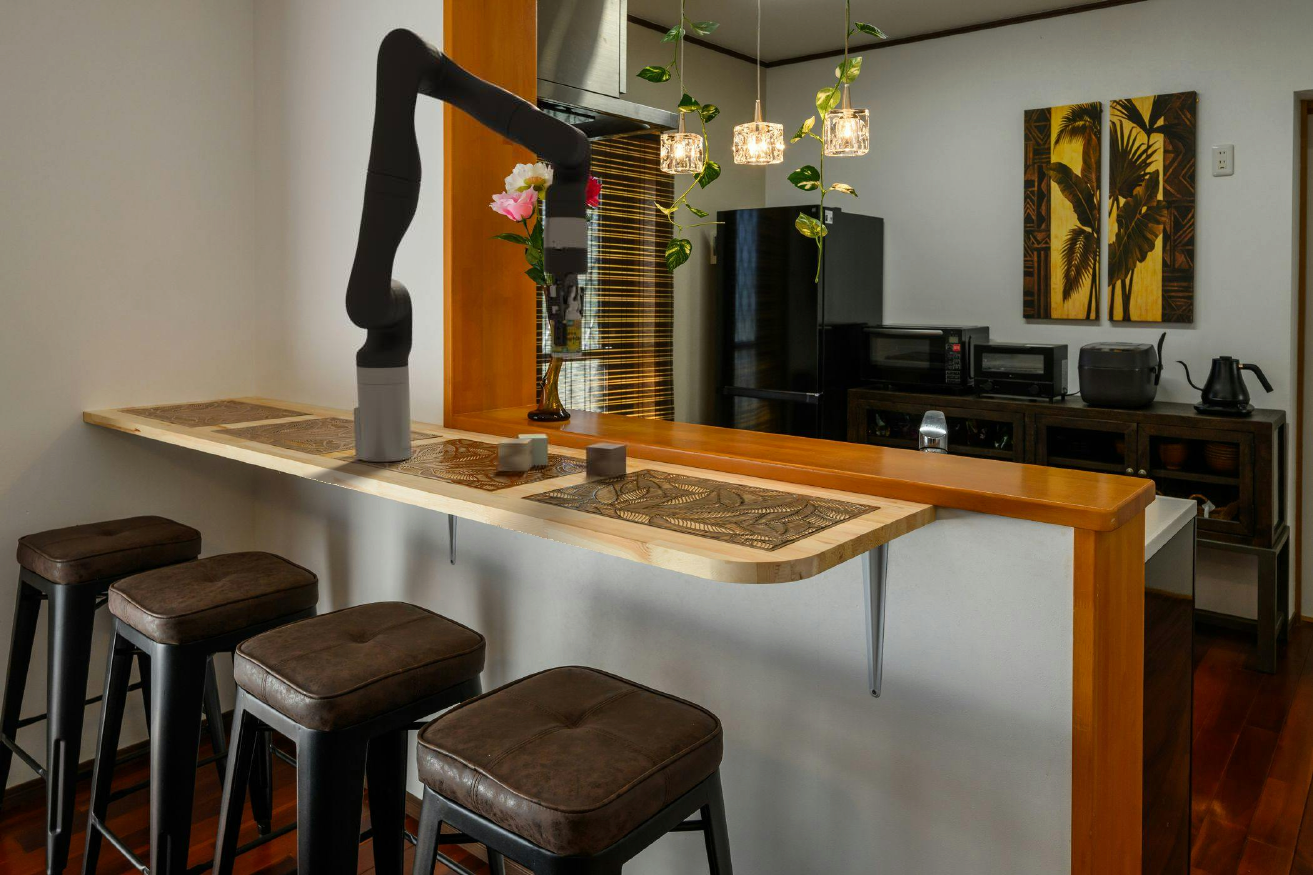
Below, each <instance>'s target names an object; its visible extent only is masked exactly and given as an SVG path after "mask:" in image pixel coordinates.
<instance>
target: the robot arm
mask: <svg viewBox="0 0 1313 875" xmlns="http://www.w3.org/2000/svg"><path fill="white" fill-rule="evenodd" d="M375 82H376V83H375V108H374V119H373V126H372V132H371V133H372V134H371V143H370V145H371V146H370V153H369V159H368V164H367V169H366V170H367V171H366V179H365V186H364V193H363V204H362V211H361V218H360V224H359V231H358V238H357V244H356V250H355V255H354V259H353V261H352V262H353V263H352V266H351V271H350V275H349V279H348V283H347V287H346V293H345V299H344V300H345V301H344V302H345V303H344V304H345V310H346V314H347V316H348V318H349V319H350V322H352V323H353V325H355V327H358V328H360V329H363V330H366V338H365V341H364V344H362V346H361V347H360V348H359V349H358V350H357V351H356V354H355V366H356V384H357V385H356V386H357V387H356V388H357V406H356V407H354V408H353V428H354V430H353V431H354V448H355V449H354V452H355V453H354V454H355V460H362V461H365V462H376V463H378V462H379V463H381V462H396V461H397V462H398V461H403V460H409V459H411V458H412V457H413V456H412V432H411V430H412V429H411V427H412V426H411V425H412V424H411V400H410V399H411V398H410V396H411V395H410V375H409V374H410V371H409V358H410V357H409V356H410V354H411V351H412V348H413V303H412V299H411V298H412V297H411V294H410V292H409V291H408V288H407V287H406V286H405V285H404V284H403V283H402V282H400V281H399V280H398V279H393V278H392V275H393V269H394V262H395V257H396V254H397V251H398V249H399V246H400V244H401V242H402V240H403V238H404V236H405V235H406V233H407V231H408V229H409V228H410V226H411V224H412V221H413V219H414V218H415V215H416V212H417V209H418V203H419V199H420V193H421V192H420V191H421V185H422V184H421V183H422V174H423V171H422V161H421V155H420V154H421V153H420V149H419V148H420V147H419V145H418V140H417V139H418V138H417V135H416V134H417V133H416V126H415V125H416V124H415V120H416V118H415V116H416V106H417V99H418V94H419V95H420V94H421V95H424V96H425V97H426V96H427V97H429V98H433V99H435V100H436V99H437V100H439V101H442V102H444V103H447V104H449V105H451V106H454V107H456V109H457V108H458V109H460V111H461V110H462V111H463V112H464V113H466V114H467V115H469V117H472V118H473V119H474V120H476V121H477V122H479V124H481V125H483V126H484V127H486V128H487V129H489V130H491V131H493V132H494V133H496V134H498V135H500V136H501V137H504V138H505V139H507V140H509V141H510V142H512V143H515V144H517V145H519V146H522V147H524V149H526V150H528V151H530V152H531V153H533V155H536V156H537V157H539V158H540V159H542V160H544V161H546V162H547V163H549V164H551V165H552V166H553V167H552V177H551V178H552V179H551V180H552V181H551V184H550V183H549V185H547V187H546V189H545V193H544V228H543V271H544V274H546V275H553V280H552V284H546V285H545V293H546V295H545V297H546V307H547V308H546V309H547V320H548V321H551V320H552V324H554V345H555V346H558V347H564V346H567V325H565V324H567V321H568V313H569V312H571V310H572V303H573V301H578V308H577V310H576V313H579V314H580V315H581V317H582V320H583V319H584V306H585V291H586V290H585V285H580V284H579V277H578V276H585V275H587V274H588V272H589V249H588V248H589V234H588V233H589V232H588V226H587V189H588V185H589V179H590V173H591V169H592V168H591V167H592V147H591V142H590V140H589V138H588V137H587V134H586V133H584V131H582V130H580V129H579V128H578V127H577V128H576V126H573V125H572V124H570V123H567V122H566V121H564V120H561V119H559V118H557V117H555V116H553V115H551V114H549V113H547V112H545V111H543V110H541V109H539V108H538V107H537V106H536V105H534V104H532V103H531V102H529V101H527V100H526V99H523V98H522V97H520V96H518V95H517V94H514V93H512V92H510V91H508V90H506V89H505V88H502V87H501V86H498V85H495V84H493V83H490V82H488V81H487V80H484V79H482V78H480V77H478V76H476V75H474V74H472V72H469V71H467V70H466V69H464V67H462V66H460V65H459V64H458V63H456V62H455V61H454V60H452V59H451V58H450V57H449V56H448V55H446V54H445V53H444V51H442V50H440V49H439V48H438V47H437V46H436V45H435V44H434V43H433V42H432V41H430V40H429V39H427V38H425V37H423V36H421V34H418V33H416V32H414V31H412V30H410V29H407V28H401V27H399V28H394V29H393V30H391V31H389V32H388V33H387V34H386V35H385V36H384V38H383V39H382V41H381V42H380V45H379V48H378V51H377V59H376V79H375ZM558 312H559V313H558Z"/></svg>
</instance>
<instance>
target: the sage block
mask: <svg viewBox="0 0 1313 875" xmlns="http://www.w3.org/2000/svg"><path fill="white" fill-rule="evenodd" d="M517 439H532V466H547V465H549V451H548V450H549V449H548V448H549V441H548V436H547V435H546V433H535V434H534V433H530V434H529V433H527V434H526V433H525V434H518V435H517Z"/></svg>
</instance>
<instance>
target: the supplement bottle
mask: <svg viewBox="0 0 1313 875" xmlns="http://www.w3.org/2000/svg"><path fill="white" fill-rule="evenodd" d="M577 308H578V301H573V303H572V310H571V312H569V313H568V321H567V324H565V325H567V346H564V347H558V346H555V345H554V324H552V320H550V339H551V340H550V347H551V350H550V351H551V357H553V358H581V357H582V355H583V334H582V333H583V322H582V320H583V319H582V317H581V315H580V314H579V313H576V310H577ZM558 313H559V312H558Z"/></svg>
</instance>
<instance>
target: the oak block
mask: <svg viewBox="0 0 1313 875" xmlns="http://www.w3.org/2000/svg"><path fill="white" fill-rule="evenodd" d="M497 453H498V454H497V456H498V463H497V464H498V472H501V471H502V472H503V471H504V472H505V471H506V472H507V471H508V472H528V471H529V470H530V469H531V468H532V467H533V465H532V439H518V438H503V439H502V440H500V441H499V442H497Z"/></svg>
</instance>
